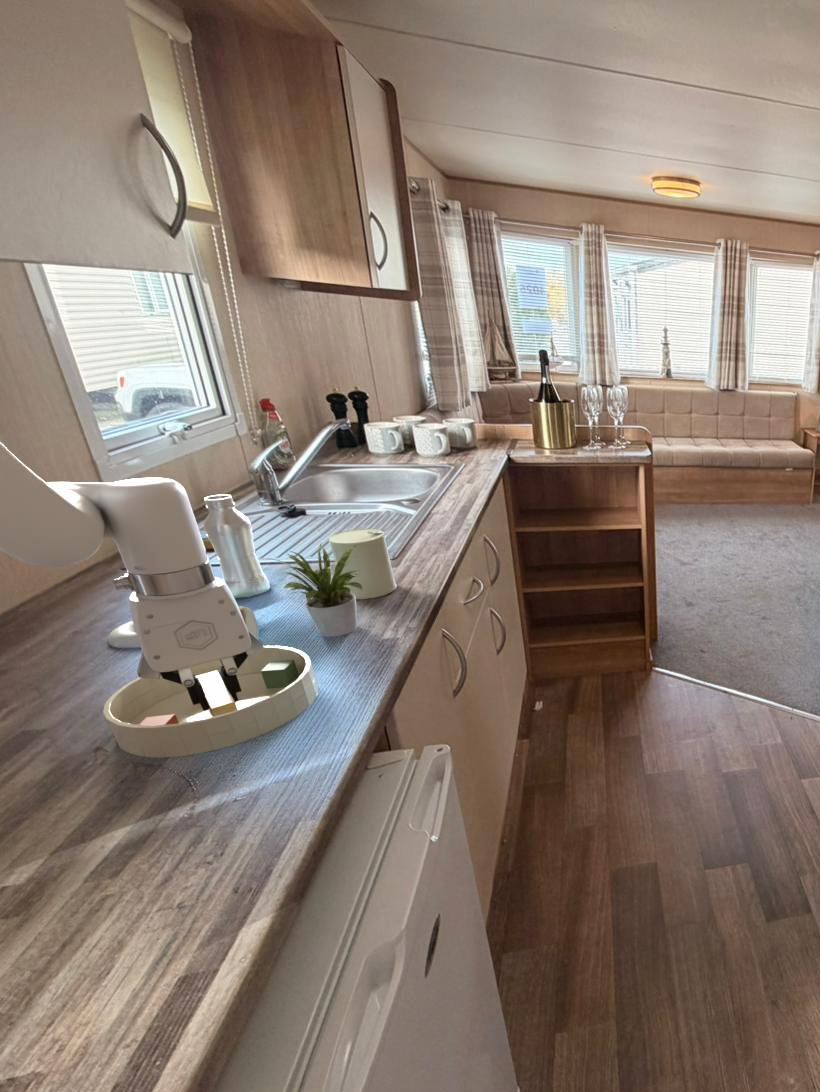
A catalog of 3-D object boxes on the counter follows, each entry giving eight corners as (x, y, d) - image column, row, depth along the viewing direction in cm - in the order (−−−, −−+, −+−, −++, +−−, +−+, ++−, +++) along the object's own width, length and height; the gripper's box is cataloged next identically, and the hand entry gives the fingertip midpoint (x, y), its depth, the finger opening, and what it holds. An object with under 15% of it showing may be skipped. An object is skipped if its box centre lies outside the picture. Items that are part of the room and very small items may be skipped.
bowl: (72, 746, 81) (55, 712, 78) (238, 665, 100) (228, 637, 98) (210, 773, 77) (196, 739, 75) (355, 685, 96) (347, 656, 94)
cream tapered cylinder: (401, 592, 127) (388, 535, 122) (346, 603, 122) (330, 544, 117) (392, 578, 134) (379, 523, 129) (339, 587, 128) (324, 531, 123)
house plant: (273, 661, 101) (242, 566, 95) (284, 626, 112) (256, 538, 105) (379, 643, 108) (356, 553, 102) (379, 612, 119) (359, 529, 112)
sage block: (266, 688, 93) (260, 671, 92) (276, 678, 96) (270, 661, 95) (290, 687, 94) (284, 669, 93) (299, 676, 96) (294, 659, 95)
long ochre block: (240, 716, 85) (234, 701, 84) (216, 724, 83) (211, 708, 83) (222, 684, 92) (217, 670, 91) (200, 690, 90) (194, 676, 89)
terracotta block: (141, 750, 79) (131, 730, 78) (154, 736, 82) (146, 717, 81) (170, 746, 80) (162, 727, 79) (183, 733, 83) (175, 713, 82)
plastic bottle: (227, 597, 122) (192, 495, 114) (272, 590, 126) (241, 491, 118) (228, 609, 117) (191, 503, 109) (274, 601, 121) (242, 498, 113)
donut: (211, 630, 110) (148, 628, 109) (204, 612, 109) (141, 610, 108) (162, 658, 101) (93, 657, 100) (154, 639, 99) (84, 637, 99)
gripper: (84, 604, 72) (142, 738, 80) (261, 571, 84) (297, 691, 91) (79, 585, 77) (134, 714, 84) (247, 556, 88) (283, 672, 95)
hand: (218, 701), depth 87 cm, fingers closed on long ochre block, 2 cm apart
